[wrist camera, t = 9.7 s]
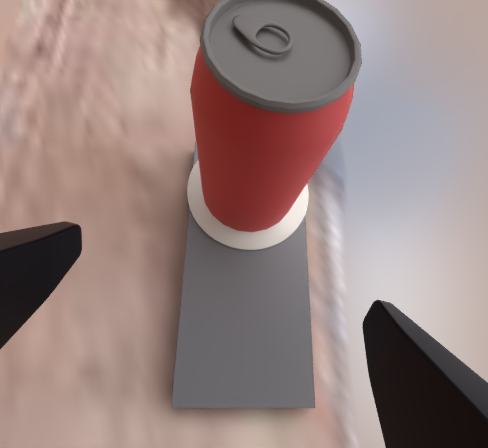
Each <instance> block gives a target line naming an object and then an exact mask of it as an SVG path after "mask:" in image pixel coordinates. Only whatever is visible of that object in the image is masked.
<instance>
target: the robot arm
mask: <svg viewBox="0 0 488 448" xmlns="http://www.w3.org/2000/svg"><path fill="white" fill-rule="evenodd" d="M81 251H82V235H81V227H80V226H79V225H78V224H74V223H70V222H59V223H53V224H48V225H42V226H37V227H32V228H26V229H21V230H15V231H10V232H4V233H0V349H1V348H2V347H3V346H4V345H5V344H6V343H7V342H8V341H9V339H10V338H11V337H12V336H13V335H14V334H15V333H16V332H17V331H18V330H19V329H20V328H21V326H22V325H23V324H24V323H25V322H26V321H27V320H28V319H29V318H30V317H31V316H32V315H33V313H34V312H35V311H36V310H37V309H38V308H39V307H40V306H41V305H42V304H43V303H44V301H45V300H46V299H47V298H48V297H49V296H50V294H51V293H52V292H53V291H54V289H55V288H56V287H57V285H58V284H59V283H60V281H61V280H62V279H63V277H64V276H65V275H66V273H67V272H68V271H69V269H70V268H71V267H72V265H73V264H74V263H75V261H76V260H77V259H78V257H79V256H80V254H81ZM363 334H364V342H365V350H366V358H367V365H368V372H369V377H370V383H371V387H372V391H373V395H374V399H375V404H376V408H377V412H378V417H379V421H380V425H381V429H382V433H383V438H384V442H385V446H386V448H488V383H487V382H486V381H485V380H484V379H482V378H481V377H480V376H479V375H478V374H476V373H475V372H474V371H473V370H471V369H470V368H469V367H468V366H467V365H465V364H464V363H463V362H461V360H459V359H458V358H457V357H456V356H454V355H453V354H452V353H451V352H450V351H448V350H447V349H446V348H445V347H444V346H442V345H441V344H440V343H439V342H437V341H436V340H435V339H434V338H433V337H431V336H430V335H429V334H428V333H427V332H425V331H424V330H423V329H421V327H419V326H418V325H417V324H416V323H414V322H413V321H412V320H411V319H409V318H408V317H407V316H406V315H405V314H404V313H402V312H401V311H400V310H399V309H397V308H396V307H395V306H394V305H393V304H391V303H389V302H385V301H381V300H376V301H374V302H373V304H372V306H371V308H370V309H369V311H368V313H367V315H366V316H365V318H364V321H363Z"/></svg>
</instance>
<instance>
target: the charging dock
mask: <svg viewBox="0 0 488 448" xmlns="http://www.w3.org/2000/svg"><path fill="white" fill-rule="evenodd" d="M187 197H188V203H189V218H188V229H187V240H186V251H185V262H184V273H183V284H182V295H181V306H180V317H179V328H178V339H177V350H176V361H175V372H174V383H173V394H172V405H171V408H315V393H314V374H313V355H312V336H311V318H310V299H309V280H308V261H307V242H306V223H305V213H306V210H307V206H308V186H307V184H306V186H305V187H304V189H303V190H302V192H301V194H300V195H299V197H298V198H297V200H296V201H295V203H294V204H293V206H292V207H291V209H290V210H289V212H288V213H287V214H286V215H285V217H284V218H283V219H282V220H281V221H280V222H279V223H277V224H276V225H274V226H272V227H270V228H268V229H266V230H261V231H256V232H245V231H237V230H235V229H232V228H230V227H228V226H225V225H223V224H222V223H221V222H220V221H219V220H217V219H216V218H215V217H214V216H213V215H212V214H211V212H210V211H209V209H208V207H207V206H206V204H205V201H204V196H203V191H202V184H201V176H200V168H199V159H198V151H197V143H196V142H195V151H194V162H193V169H192V171H191V173H190V176H189V179H188V185H187Z"/></svg>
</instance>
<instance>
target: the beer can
mask: <svg viewBox="0 0 488 448" xmlns="http://www.w3.org/2000/svg"><path fill="white" fill-rule="evenodd" d="M361 64H362V59H361V44H360V42H359V40H358V38H357V36H356V34H355V32H354V30H353V27H352V26H351V24H350V23H349V22H348V21H347V19H346V18H345V17H344V16H343V15H342V14H341V13H340V12H339V11H338V10H337V9H336V8H335V7H333V6H332V5H330V4H329V3H327V2H326V1H324V0H222V1H220V2H219V3H217V4H216V5H214V7H213V8H212V9H211V11H210V12H209V14H208V15H207V17H206V18H205V20H204V21H203V25H202V31H201V36H200V48H199V50H198V53H197V56H196V60H195V66H194V71H193V76H192V82H191V88H190V93H191V101H192V109H193V118H194V126H195V134H196V143H197V151H198V159H199V168H200V176H201V184H202V191H203V196H204V201H205V204H206V206H207V207H208V209H209V211H210V212H211V214H212V215H213V216H214V217H215V218H216V219H217V220H219V221H220V222H221V223H222V224H223V225H225V226H228V227H230V228H232V229H235V230H237V231H245V232H256V231H261V230H266V229H268V228H270V227H272V226H274V225H276V224H277V223H279V222H280V221H281V220H282V219H283V218H284V217H285V215H286V214H287V213H288V212H289V210H290V209H291V207H292V206H293V204H294V203H295V201H296V200H297V198H298V197H299V195H300V194H301V192H302V190H303V189H304V187H305V186H306V184H307V183H308V181H309V180H310V178H311V177H312V175H313V174H314V172H315V171H316V169H317V167H318V166H319V164H320V163H321V161H322V160H323V158H324V157H325V155H326V154H327V152H328V151H329V149H330V147H331V146H332V144H333V143H334V141H335V140H336V138H337V137H338V135H339V134H340V132H341V131H342V128H343V125H344V122H345V120H346V117H347V114H348V112H349V108H350V105H351V102H352V98H353V90H354V82H355V81H356V78H357V75H358V72H359V69H360V67H361Z"/></svg>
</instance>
